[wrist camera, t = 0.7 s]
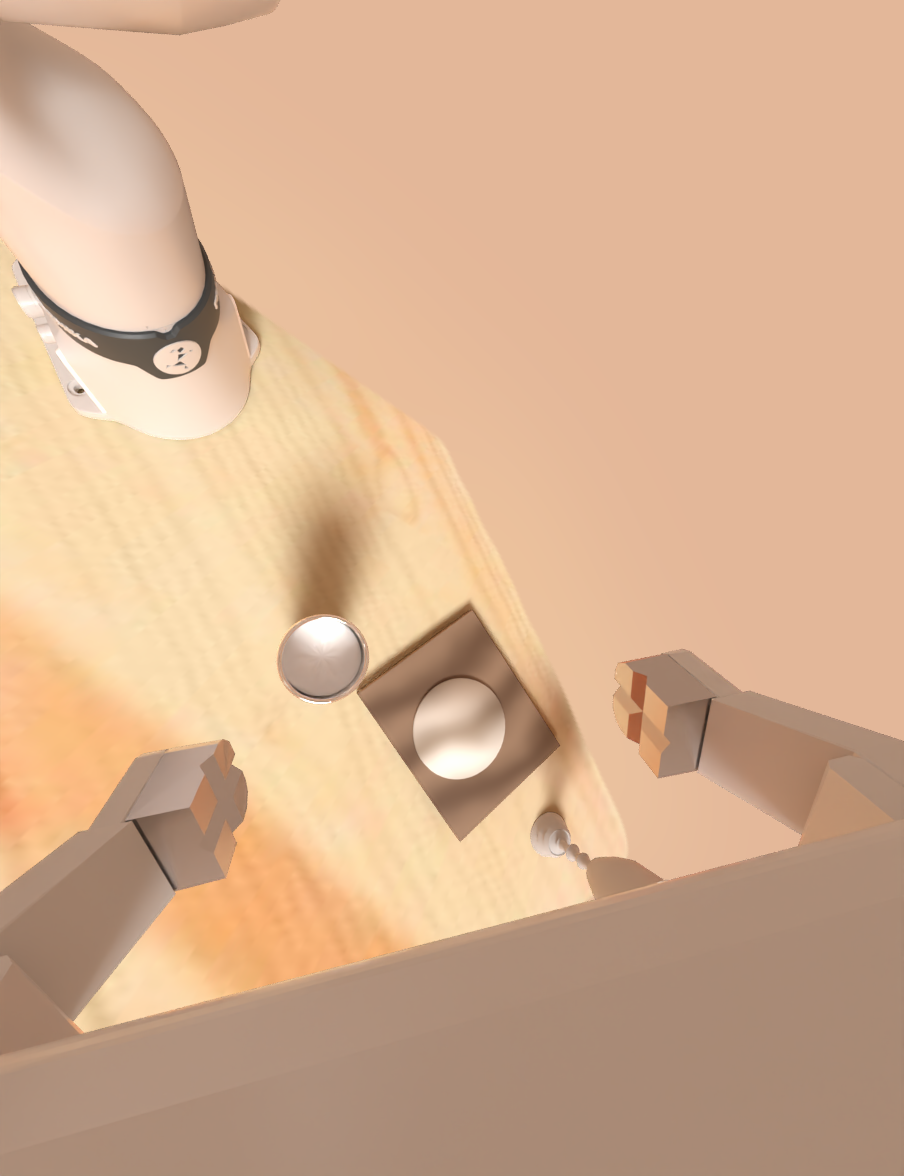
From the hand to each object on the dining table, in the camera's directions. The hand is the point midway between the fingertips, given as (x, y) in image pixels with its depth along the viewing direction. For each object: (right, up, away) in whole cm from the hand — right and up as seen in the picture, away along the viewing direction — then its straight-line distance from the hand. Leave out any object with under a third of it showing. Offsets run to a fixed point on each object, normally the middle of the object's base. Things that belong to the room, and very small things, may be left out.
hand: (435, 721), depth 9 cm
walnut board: (+2, -13, +41) cm, 43 cm away
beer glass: (-14, -4, +37) cm, 40 cm away
